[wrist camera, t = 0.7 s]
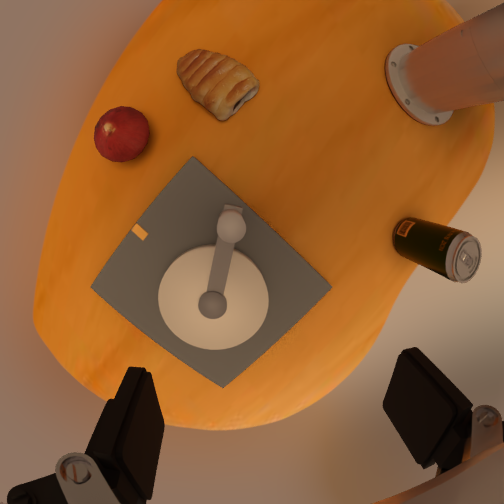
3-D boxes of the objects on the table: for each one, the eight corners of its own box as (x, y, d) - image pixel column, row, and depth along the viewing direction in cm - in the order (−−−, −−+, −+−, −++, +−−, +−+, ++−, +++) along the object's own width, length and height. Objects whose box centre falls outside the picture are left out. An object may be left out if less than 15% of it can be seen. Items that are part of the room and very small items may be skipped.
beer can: (384, 245, 34) (444, 273, 22) (402, 209, 33) (466, 224, 21) (410, 262, 35) (468, 292, 23) (426, 228, 34) (488, 247, 22)
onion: (101, 150, 28) (67, 142, 20) (127, 107, 27) (99, 87, 19) (139, 172, 29) (112, 169, 21) (166, 128, 28) (147, 111, 20)
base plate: (193, 156, 29) (192, 155, 28) (329, 284, 34) (332, 287, 33) (93, 284, 31) (89, 287, 30) (223, 383, 36) (223, 389, 35)
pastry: (164, 81, 27) (157, 69, 23) (204, 43, 26) (202, 28, 22) (225, 127, 29) (225, 119, 25) (264, 86, 28) (269, 74, 24)
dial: (252, 348, 34) (258, 383, 27) (157, 329, 32) (143, 362, 25) (287, 217, 30) (305, 227, 24) (178, 193, 29) (163, 196, 22)
